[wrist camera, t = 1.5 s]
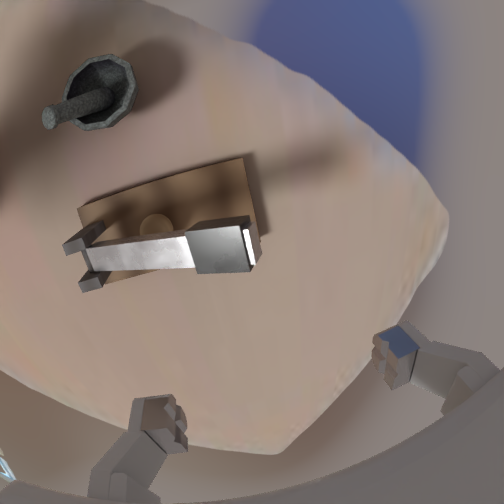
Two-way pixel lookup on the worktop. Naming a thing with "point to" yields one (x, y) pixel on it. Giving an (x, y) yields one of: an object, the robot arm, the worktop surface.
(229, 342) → the worktop surface
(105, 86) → the mortar and pestle
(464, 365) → the robot arm
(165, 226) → the smooth brown ball
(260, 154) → the worktop surface
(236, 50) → the worktop surface
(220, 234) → the lever
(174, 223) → the base
